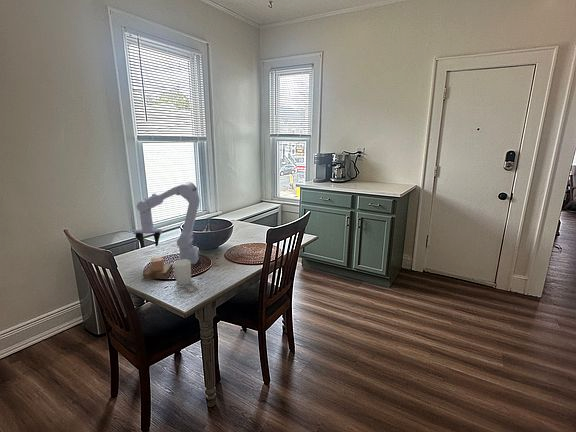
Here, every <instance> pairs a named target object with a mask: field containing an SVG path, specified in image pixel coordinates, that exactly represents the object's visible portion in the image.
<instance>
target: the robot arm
mask: <svg viewBox="0 0 576 432" xmlns="http://www.w3.org/2000/svg"><path fill="white" fill-rule="evenodd" d="M174 195H175V196H180V197H182V198H183V199H185V200H186V201H187V202H188V207H187V210H186V216H185V218H184V219H185V220H184V223H183V227H182V231H181V232H180V235H179V238H178V239H177V240H176V246H177V247H178V250H179V260H184V259H186V260H190V261H191V265H196V264H197V263H198V261H199V259H200V258H199V251H198V250H199V249H198V246H196V245H193V241H194V227H195V224H196V223H195V222H196V218H197V213H198V209H199V206H200V202H201V201H200V200H201V199H200V196H199V193H198V187H197V186H196V185H195V183H193V182H191V181H187V182H185V183H182V184H178V185H177V186H174V187H172V188H170V189H168V190H166V191H165V192H163V193H162V192H161V194H160V193H153V194H151V196H149V197H145V198H144V200H143V199H142V200H141V201H139V202H137V204H136V209H137V210H138V211H139V217H140V219H139V220H140V226H141V228H140V229H134V230H133V235H135V236H134V237H135V239H137V240H138V242H139V244H140V246H141V247H144V246H145V241H144V234H153V238H154V245H155V247H158V246H159V241H160V236H161V234H162V233H163V229H162V228H154V224H153V217H152V209H153V208H155V207H157V206H160V205H161V204H163V202H164V200H166V199H168V198H170V197H172V196H174Z"/></svg>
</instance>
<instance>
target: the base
mask: <svg viewBox="0 0 576 432" xmlns="http://www.w3.org/2000/svg"><path fill="white" fill-rule="evenodd" d="M163 267H164V270H158V271H153V269H152V264H150V265H149V266H148V267H147V269H145V271H144V272H142V277H143V280H159V279H160V280H163V279H164V280H165V279H168V277H169V275H170V274H171V273H170V272H172V271H173V270H174V267H173V263H165V264H164V263H163ZM172 269H173V270H172Z"/></svg>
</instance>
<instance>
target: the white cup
mask: <svg viewBox="0 0 576 432" xmlns="http://www.w3.org/2000/svg"><path fill="white" fill-rule="evenodd" d="M172 267H173V271H174V277H175V282H176V284H177V285H179V286H183V285H188V284H190V283H191V282H192V264H191V261H190V260H186V259H184V260H180V259H178V260H176V261H174V262H172Z"/></svg>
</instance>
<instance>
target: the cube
mask: <svg viewBox="0 0 576 432" xmlns="http://www.w3.org/2000/svg"><path fill="white" fill-rule="evenodd" d="M150 261H151V265H152V269H153V271H158V270H164V267H163V264H164V260H163V257H162V256H159V257H153V258H150Z"/></svg>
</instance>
